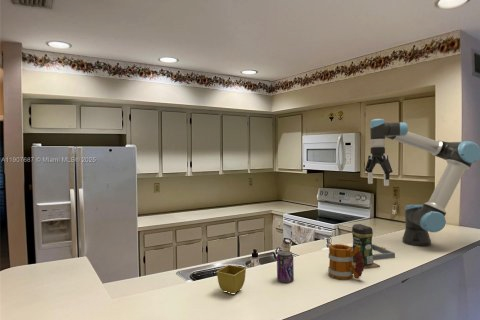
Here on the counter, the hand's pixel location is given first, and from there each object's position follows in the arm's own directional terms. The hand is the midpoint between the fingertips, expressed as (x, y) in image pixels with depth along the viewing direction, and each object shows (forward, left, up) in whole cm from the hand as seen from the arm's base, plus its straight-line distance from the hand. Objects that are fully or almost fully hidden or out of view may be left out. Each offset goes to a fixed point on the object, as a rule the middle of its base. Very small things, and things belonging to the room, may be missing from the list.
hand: (378, 184), depth 180 cm
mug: (+40, +30, -37) cm, 62 cm away
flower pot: (+92, +31, -37) cm, 104 cm away
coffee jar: (+23, +18, -36) cm, 47 cm away
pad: (+24, +18, -37) cm, 47 cm away
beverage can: (+67, +26, -37) cm, 81 cm away
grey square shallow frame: (+10, +6, -37) cm, 39 cm away
